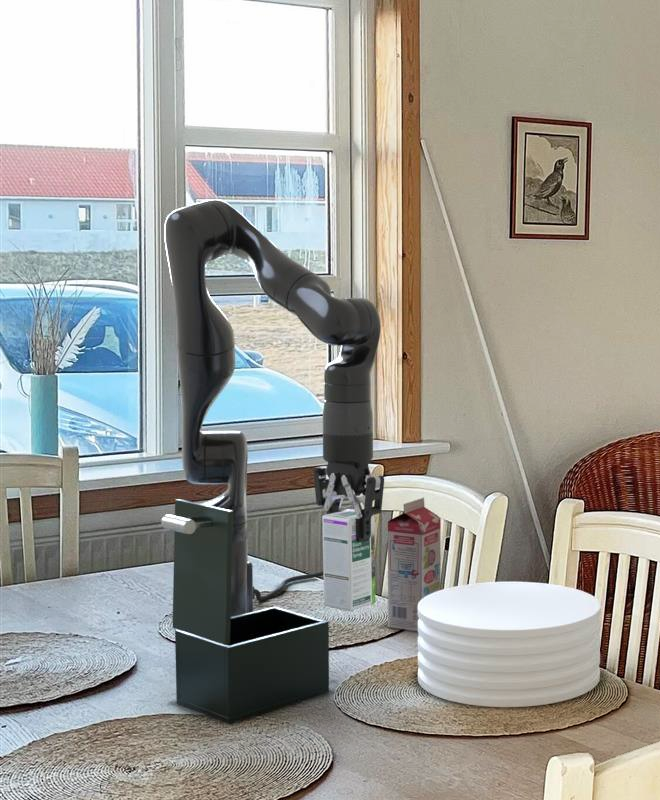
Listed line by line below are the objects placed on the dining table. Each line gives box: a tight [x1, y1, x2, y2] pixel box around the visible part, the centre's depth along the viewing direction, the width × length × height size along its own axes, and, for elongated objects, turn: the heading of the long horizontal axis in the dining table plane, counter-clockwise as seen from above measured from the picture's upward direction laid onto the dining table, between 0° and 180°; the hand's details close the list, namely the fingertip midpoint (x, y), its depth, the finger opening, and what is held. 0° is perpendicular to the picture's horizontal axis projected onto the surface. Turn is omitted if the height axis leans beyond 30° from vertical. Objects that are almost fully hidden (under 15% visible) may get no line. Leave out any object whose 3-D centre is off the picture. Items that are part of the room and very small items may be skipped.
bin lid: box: [160, 498, 233, 645], centre depth 187 cm, size 18×13×5 cm
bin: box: [174, 606, 330, 725], centre depth 197 cm, size 18×13×11 cm
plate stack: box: [417, 581, 602, 708], centre depth 209 cm, size 28×28×12 cm
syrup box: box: [321, 508, 377, 612], centre depth 208 cm, size 6×6×14 cm
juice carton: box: [387, 496, 442, 632], centre depth 236 cm, size 7×7×22 cm
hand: (348, 537), depth 208 cm, fingers closed on syrup box, 6 cm apart
